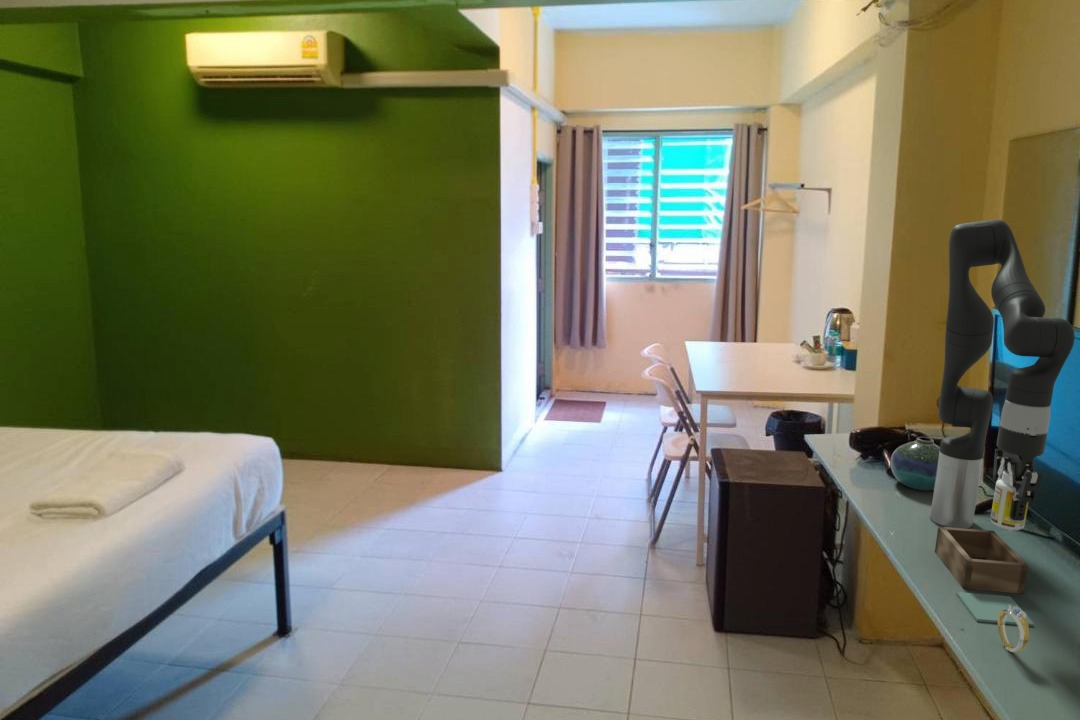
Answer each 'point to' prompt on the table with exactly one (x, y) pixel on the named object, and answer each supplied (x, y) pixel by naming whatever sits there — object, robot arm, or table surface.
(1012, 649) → the ring
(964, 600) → the mat
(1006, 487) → the supplement bottle
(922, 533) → the table surface
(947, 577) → the table surface
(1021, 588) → the box
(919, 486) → the vase
